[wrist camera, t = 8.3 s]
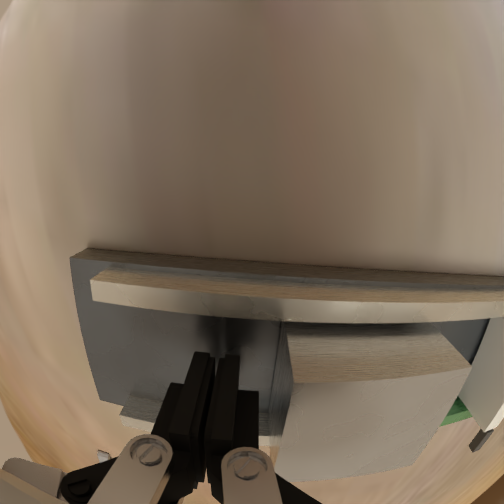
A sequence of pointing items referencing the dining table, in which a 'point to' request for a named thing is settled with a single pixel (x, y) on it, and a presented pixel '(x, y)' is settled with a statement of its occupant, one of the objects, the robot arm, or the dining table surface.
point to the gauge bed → (247, 317)
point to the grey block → (358, 396)
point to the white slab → (486, 383)
